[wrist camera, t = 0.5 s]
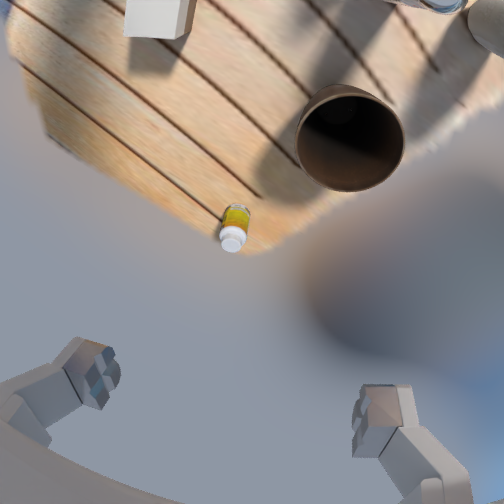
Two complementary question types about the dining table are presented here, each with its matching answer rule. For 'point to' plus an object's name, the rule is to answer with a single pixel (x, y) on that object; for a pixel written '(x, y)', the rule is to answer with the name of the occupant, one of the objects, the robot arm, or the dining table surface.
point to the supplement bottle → (234, 227)
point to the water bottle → (434, 5)
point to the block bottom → (190, 16)
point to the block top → (155, 18)
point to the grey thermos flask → (488, 24)
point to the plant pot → (348, 139)
